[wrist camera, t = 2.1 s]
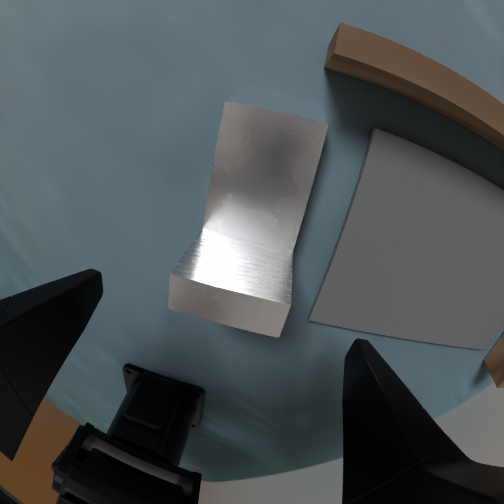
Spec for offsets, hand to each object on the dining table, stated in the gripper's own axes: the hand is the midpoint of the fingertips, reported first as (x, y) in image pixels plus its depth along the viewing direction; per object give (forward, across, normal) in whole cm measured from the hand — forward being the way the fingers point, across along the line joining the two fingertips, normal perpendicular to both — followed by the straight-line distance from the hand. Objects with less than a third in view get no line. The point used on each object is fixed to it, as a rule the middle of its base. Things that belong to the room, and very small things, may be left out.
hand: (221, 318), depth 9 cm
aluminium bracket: (+5, 0, -3) cm, 6 cm away
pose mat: (+5, -11, -2) cm, 12 cm away
